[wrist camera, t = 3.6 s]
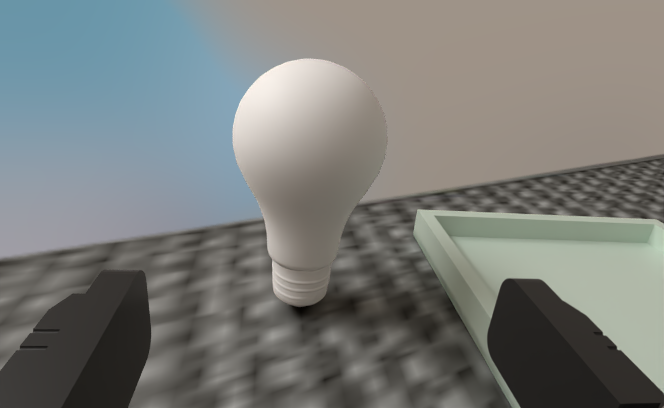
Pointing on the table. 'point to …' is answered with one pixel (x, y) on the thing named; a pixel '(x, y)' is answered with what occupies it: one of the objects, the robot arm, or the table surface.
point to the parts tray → (555, 273)
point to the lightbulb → (308, 165)
